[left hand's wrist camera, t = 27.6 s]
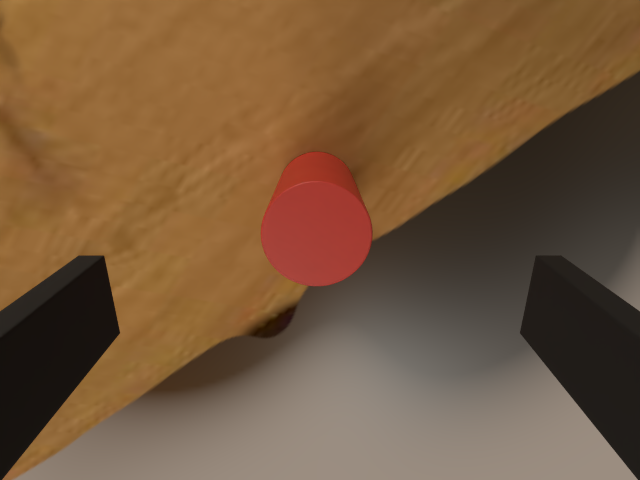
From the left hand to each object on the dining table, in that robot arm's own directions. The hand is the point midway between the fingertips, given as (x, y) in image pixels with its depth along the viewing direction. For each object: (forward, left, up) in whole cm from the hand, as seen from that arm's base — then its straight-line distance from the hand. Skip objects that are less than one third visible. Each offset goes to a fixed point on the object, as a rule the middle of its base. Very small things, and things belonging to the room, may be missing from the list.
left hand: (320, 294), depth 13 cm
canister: (0, 0, -17) cm, 17 cm away
